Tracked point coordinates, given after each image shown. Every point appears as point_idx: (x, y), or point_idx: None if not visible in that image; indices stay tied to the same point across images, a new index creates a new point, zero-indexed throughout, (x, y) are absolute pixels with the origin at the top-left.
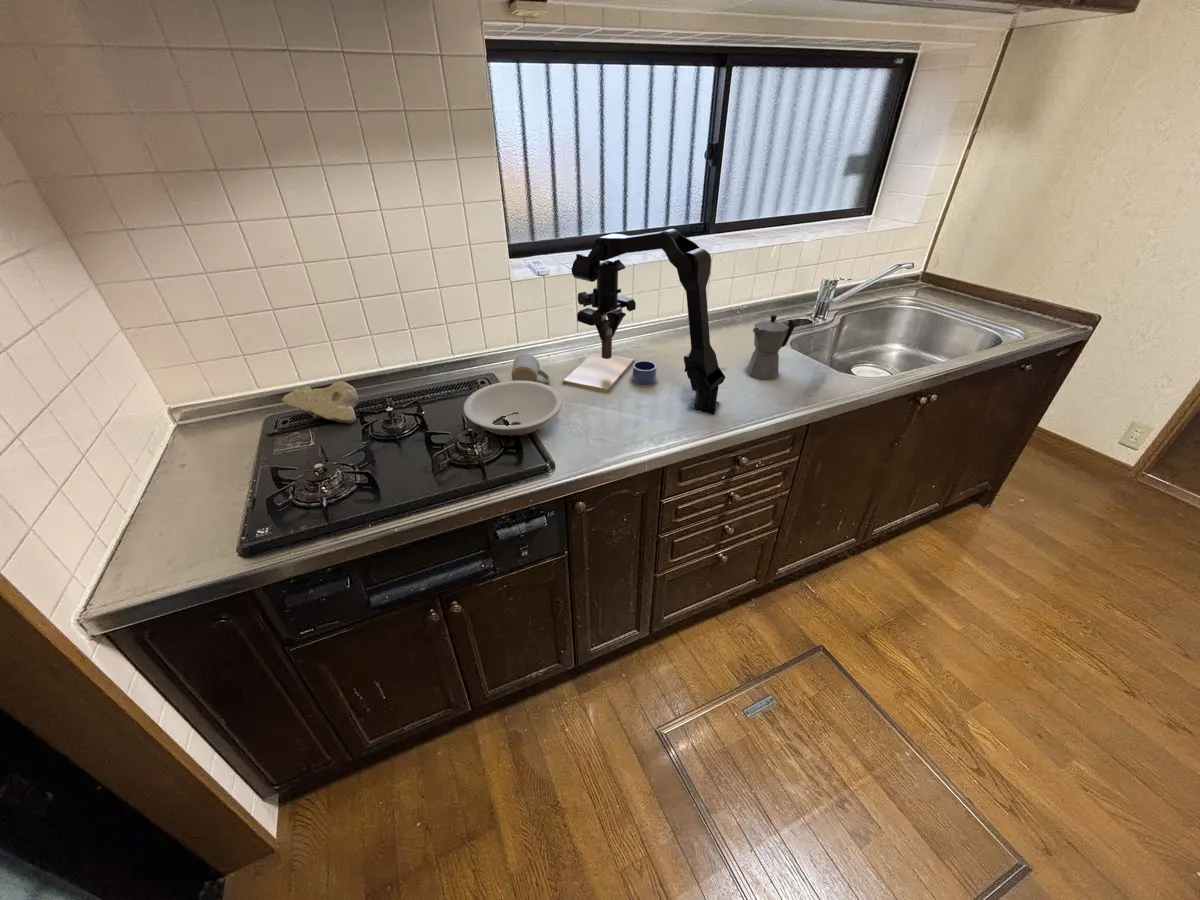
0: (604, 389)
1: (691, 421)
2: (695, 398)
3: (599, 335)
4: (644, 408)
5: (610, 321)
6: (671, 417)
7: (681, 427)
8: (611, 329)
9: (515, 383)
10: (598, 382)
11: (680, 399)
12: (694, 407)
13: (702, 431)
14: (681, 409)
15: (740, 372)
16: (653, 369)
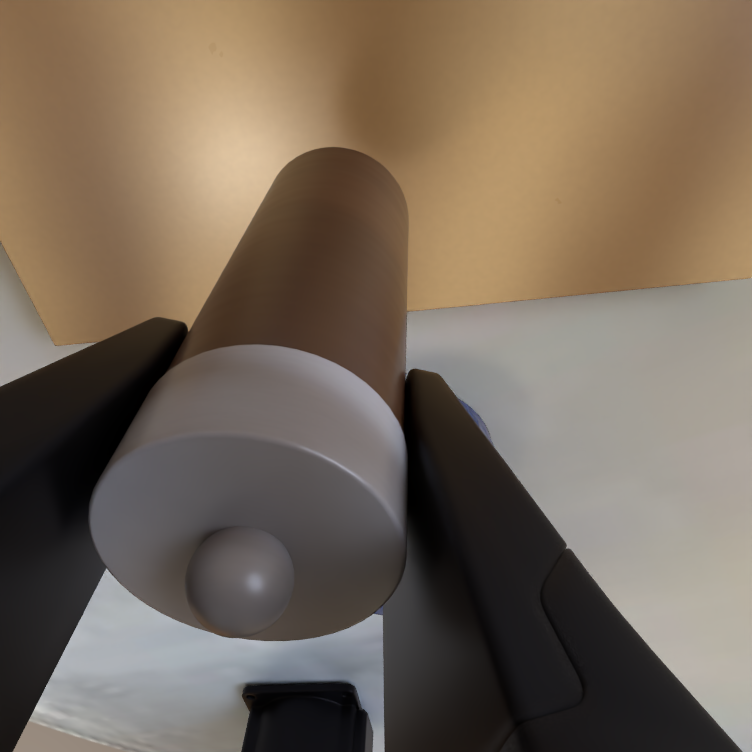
0: (43, 318)
1: (165, 699)
2: (266, 741)
3: (62, 365)
4: None
5: (461, 737)
6: (131, 651)
7: (95, 687)
8: (292, 632)
9: None
10: (83, 223)
11: (312, 641)
12: (259, 702)
13: (132, 730)
14: (225, 661)
15: (740, 744)
16: (375, 613)
